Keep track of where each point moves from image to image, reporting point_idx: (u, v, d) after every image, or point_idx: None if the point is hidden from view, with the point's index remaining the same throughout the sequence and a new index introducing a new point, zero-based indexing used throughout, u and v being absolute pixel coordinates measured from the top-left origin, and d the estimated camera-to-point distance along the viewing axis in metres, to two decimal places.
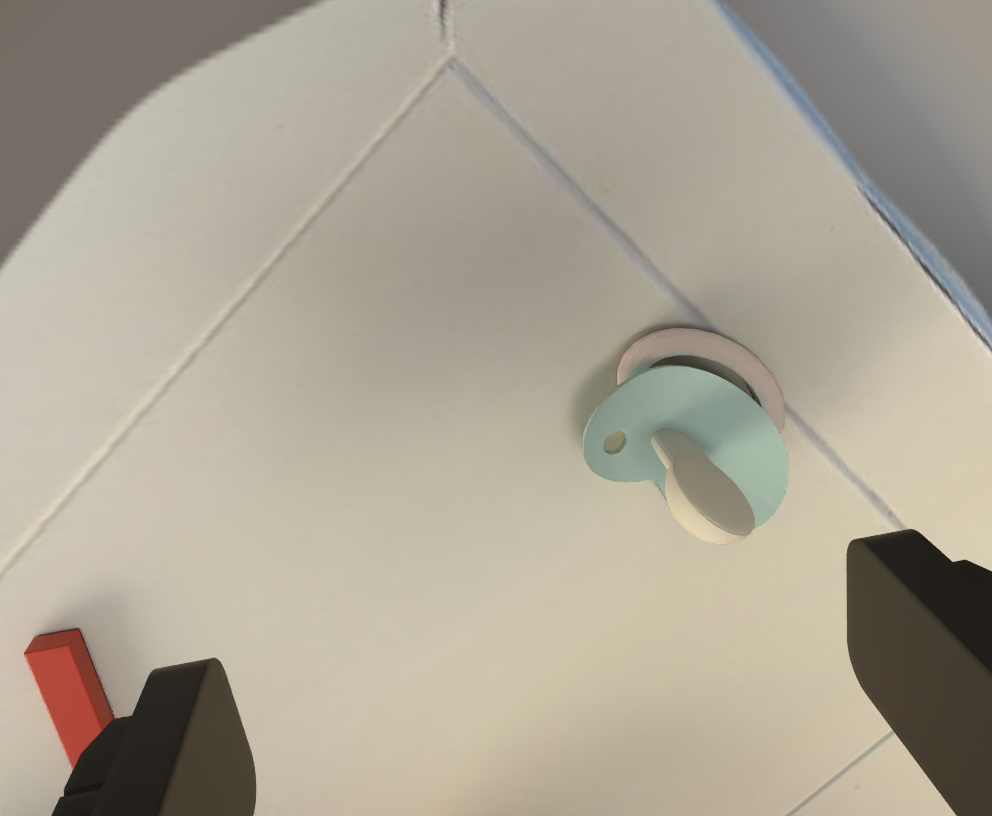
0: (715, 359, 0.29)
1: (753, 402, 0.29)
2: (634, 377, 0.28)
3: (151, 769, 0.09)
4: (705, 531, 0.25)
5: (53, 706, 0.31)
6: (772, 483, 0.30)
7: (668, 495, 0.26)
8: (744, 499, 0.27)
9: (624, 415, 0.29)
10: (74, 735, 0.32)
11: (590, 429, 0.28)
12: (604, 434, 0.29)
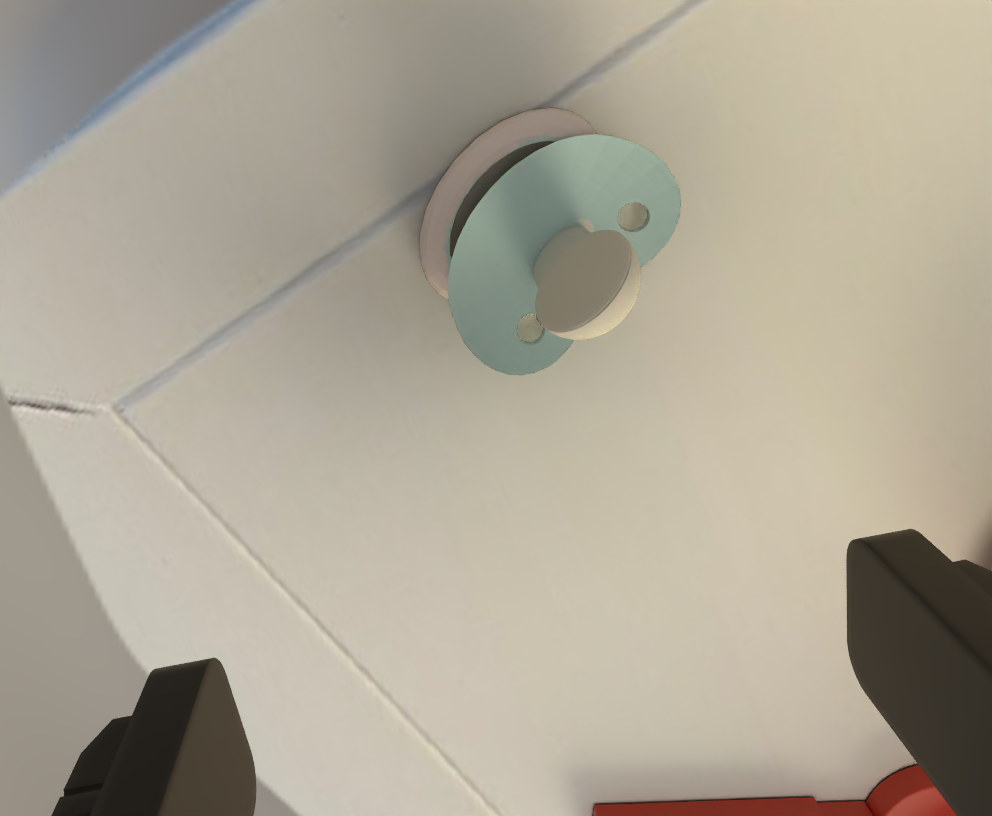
0: (464, 193, 0.25)
1: (521, 162, 0.24)
2: None
3: (151, 769, 0.09)
4: (605, 323, 0.21)
5: None
6: (628, 156, 0.24)
7: None
8: (605, 238, 0.22)
9: (499, 316, 0.26)
10: None
11: (497, 366, 0.25)
12: (514, 343, 0.26)
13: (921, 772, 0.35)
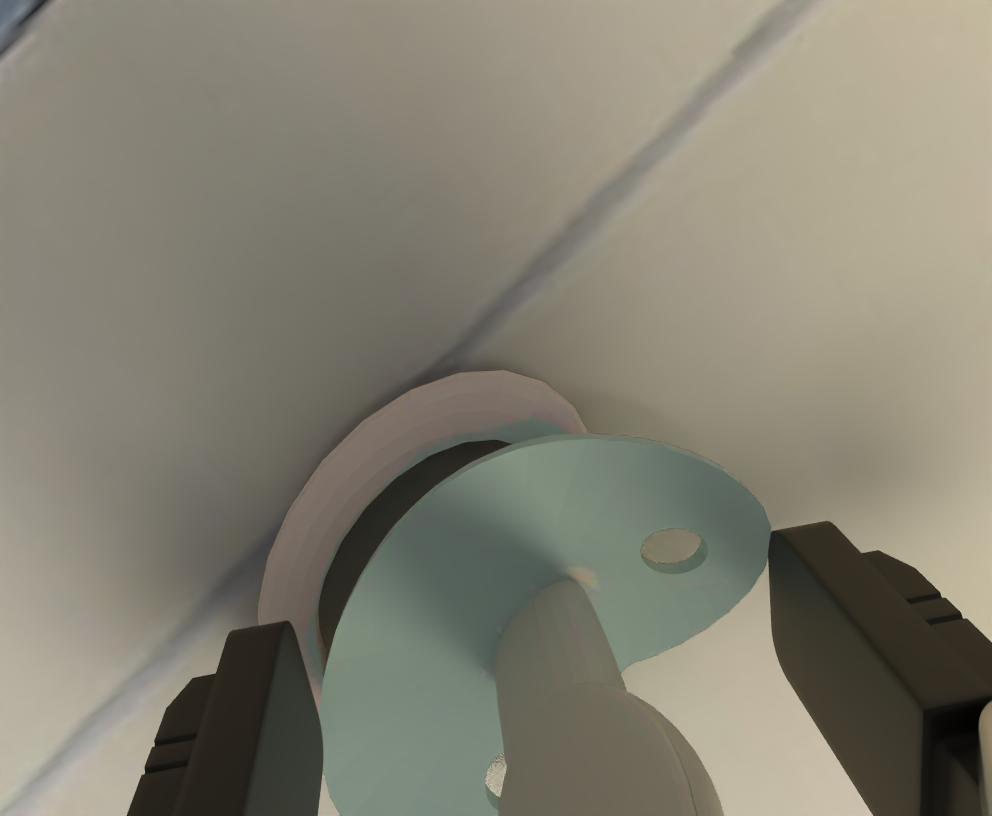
0: (322, 572, 0.12)
1: (417, 513, 0.11)
2: (339, 809, 0.12)
3: (242, 719, 0.09)
4: None
5: None
6: (640, 464, 0.11)
7: None
8: (624, 733, 0.09)
9: (444, 780, 0.13)
10: None
11: None
12: None
13: None
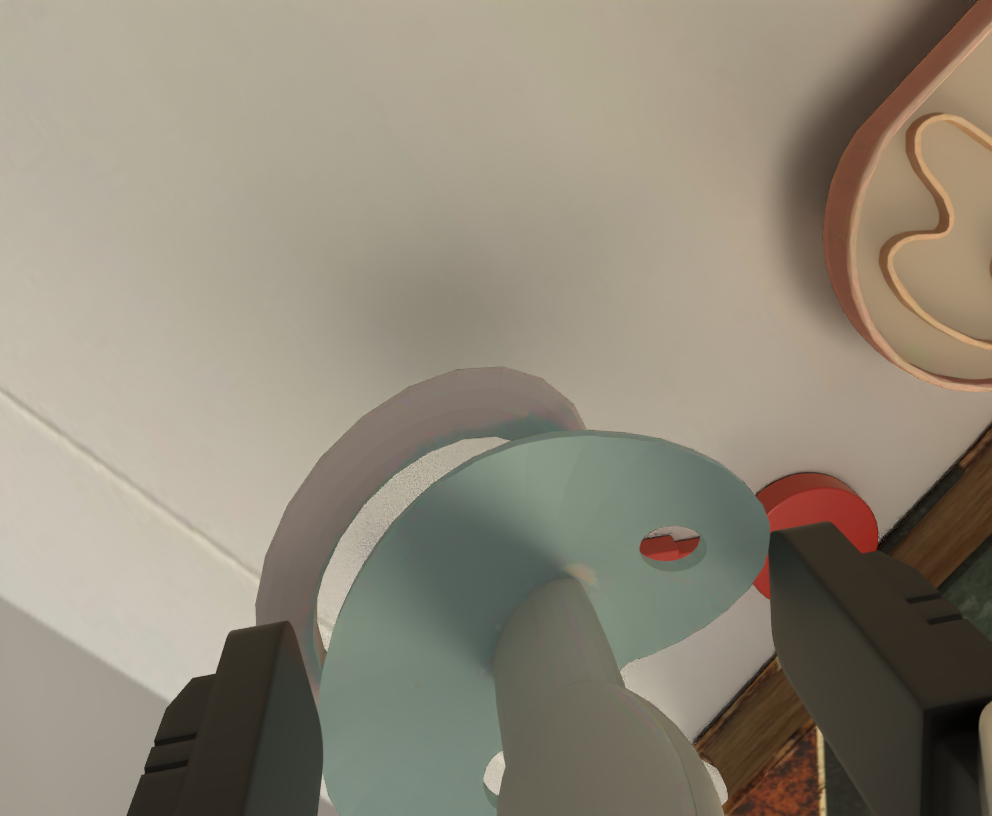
0: (321, 569, 0.12)
1: (415, 509, 0.11)
2: (337, 807, 0.12)
3: (242, 719, 0.09)
4: None
5: None
6: (639, 461, 0.11)
7: None
8: (623, 730, 0.09)
9: (443, 778, 0.13)
10: None
11: None
12: None
13: (788, 482, 0.30)
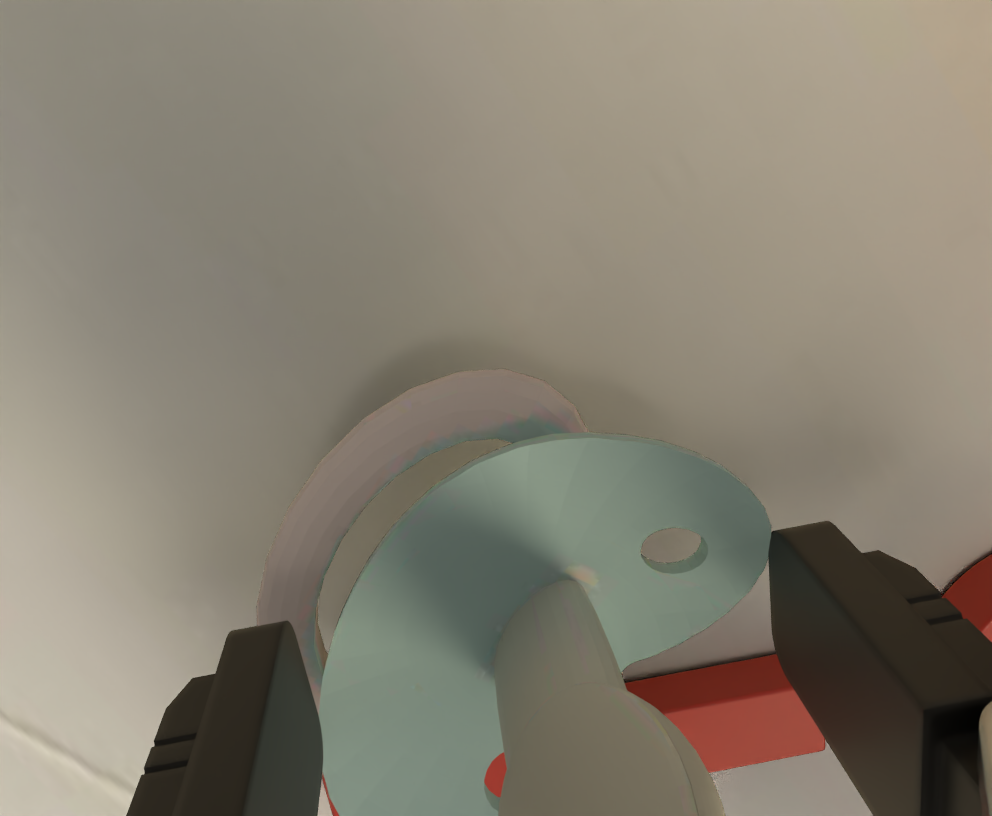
0: (322, 571, 0.12)
1: (417, 512, 0.11)
2: (338, 809, 0.12)
3: (242, 719, 0.09)
4: None
5: None
6: (641, 463, 0.11)
7: None
8: (625, 733, 0.09)
9: (444, 780, 0.13)
10: None
11: None
12: None
13: None
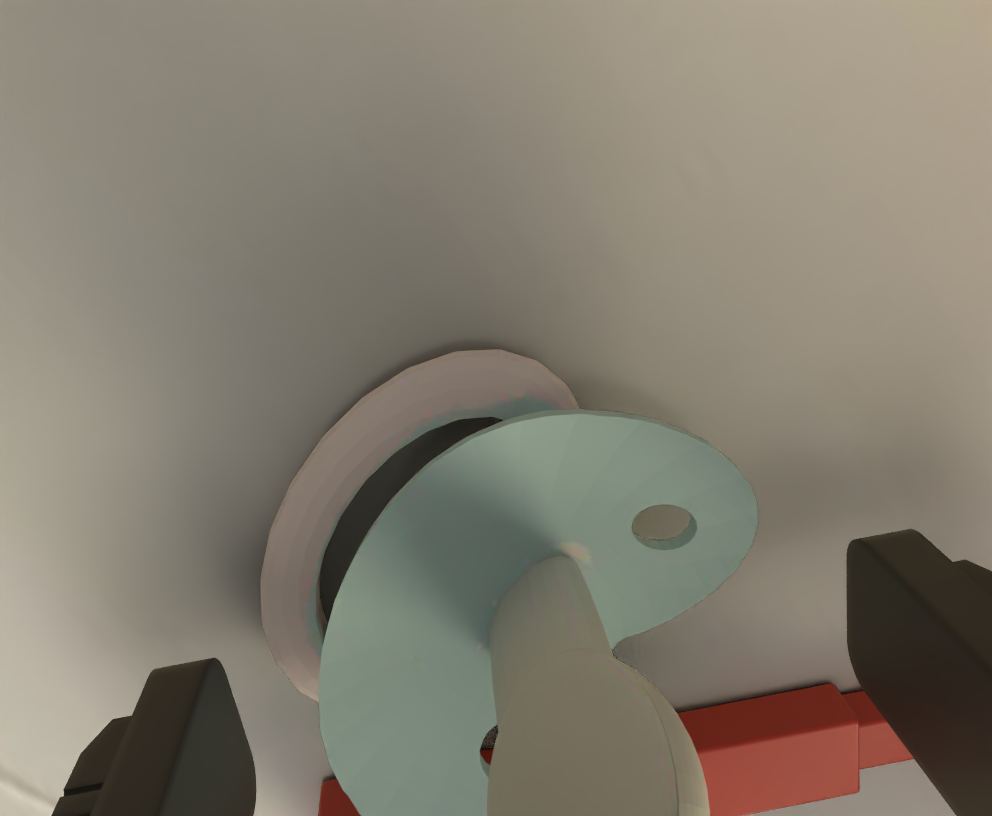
0: (322, 545, 0.13)
1: (413, 486, 0.12)
2: (337, 775, 0.13)
3: (151, 769, 0.09)
4: None
5: None
6: (630, 439, 0.11)
7: None
8: (608, 695, 0.10)
9: (440, 749, 0.13)
10: None
11: None
12: (480, 790, 0.13)
13: None
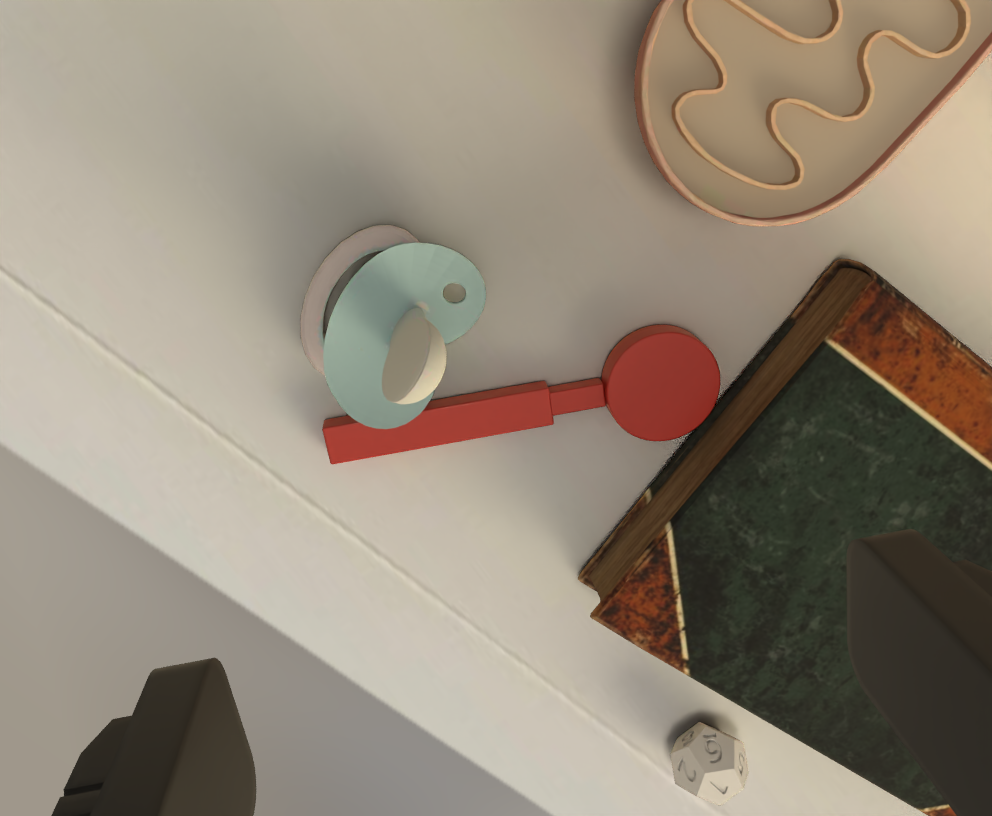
0: (325, 301, 0.33)
1: (358, 273, 0.32)
2: (330, 389, 0.33)
3: (151, 769, 0.09)
4: (422, 391, 0.29)
5: (388, 448, 0.35)
6: (434, 253, 0.31)
7: None
8: (416, 325, 0.30)
9: (371, 386, 0.33)
10: (420, 435, 0.35)
11: (376, 424, 0.33)
12: (387, 404, 0.34)
13: (641, 331, 0.35)
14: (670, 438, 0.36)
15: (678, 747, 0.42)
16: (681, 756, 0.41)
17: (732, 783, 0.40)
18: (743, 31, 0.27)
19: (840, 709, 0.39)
